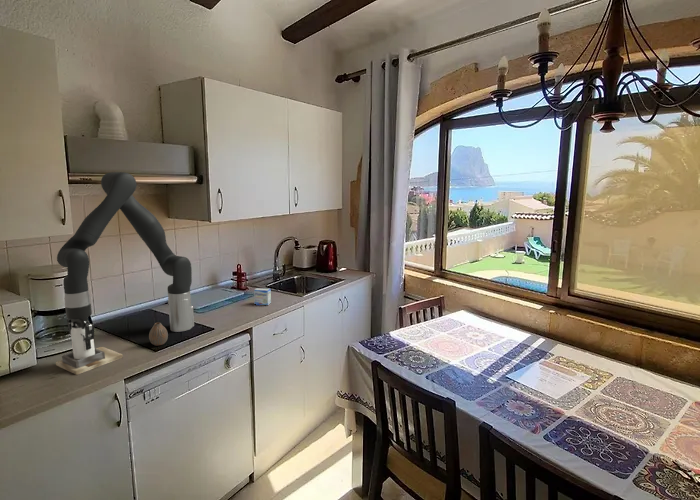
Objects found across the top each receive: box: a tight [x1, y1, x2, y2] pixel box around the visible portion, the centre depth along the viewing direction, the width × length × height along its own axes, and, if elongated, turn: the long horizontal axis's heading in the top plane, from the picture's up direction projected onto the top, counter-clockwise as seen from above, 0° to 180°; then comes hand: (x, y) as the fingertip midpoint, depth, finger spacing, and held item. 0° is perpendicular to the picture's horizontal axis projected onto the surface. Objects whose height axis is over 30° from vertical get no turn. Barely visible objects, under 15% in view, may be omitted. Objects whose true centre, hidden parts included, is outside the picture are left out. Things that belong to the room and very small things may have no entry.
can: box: [70, 322, 95, 360], centre depth 142 cm, size 6×6×12 cm
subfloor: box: [55, 346, 124, 376], centre depth 145 cm, size 16×14×4 cm
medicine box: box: [253, 287, 272, 306], centre depth 214 cm, size 8×4×9 cm, turn 80°
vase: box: [148, 322, 169, 347], centre depth 161 cm, size 7×7×9 cm
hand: (83, 348), depth 143 cm, fingers closed on can, 5 cm apart
